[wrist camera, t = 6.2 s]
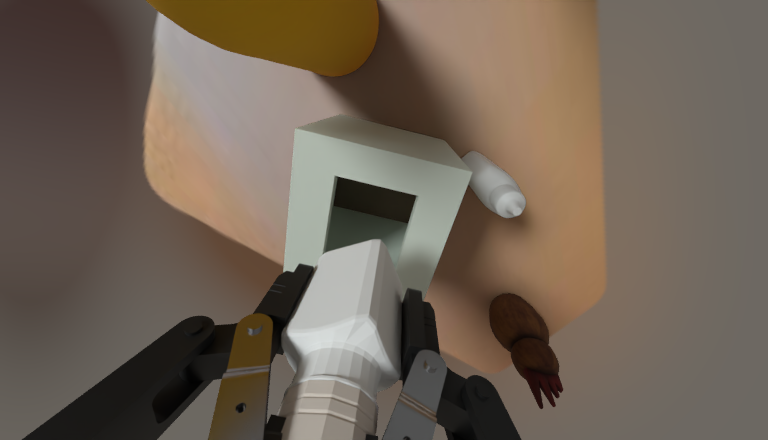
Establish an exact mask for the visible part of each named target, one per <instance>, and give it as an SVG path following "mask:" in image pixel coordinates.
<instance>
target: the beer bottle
mask: <svg viewBox="0 0 768 440" xmlns="http://www.w3.org/2000/svg"><path fill="white" fill-rule="evenodd" d="M146 1H147V2H148V3H149V4H151V5H152V6H153V7H154V8H155V9H156V10H157V11H159V12H160V13H161V14H163V15H164V16H166V17H167V18H169V19H170V20H172V21H173V22H174V23H176V24H177V25H179V26H180V27H182V28H183V29H185V30H186V31H188V32H189V33H191V34H193V35H195V36H197V37H198V38H200V39H203V40H205V41H207V42H209V43H211V44H213V45H215V46H217V47H219V48H222V49H224V50H227V51H230V52H234V53H238V54H242V55H246V56H250V57H256V58H260V59H264V60H268V61H272V62H276V63H280V64H284V65H288V66H292V67H296V68H300V69H304V70H308V71H312V72H315V73H317V74H321V75H324V76H335V77H337V76H343V75H346V74H349V73H351V72H353V71H355V70H356V69H358V68H359V67H360V66H361V65H362V64H363V63H364V62H365V61H366V60H367V59H368V57H369V56H370V54H371V53H372V50H373V48H374V46H375V43H376V39H377V36H378V28H379V13H378V7H377V2H376V0H146Z"/></svg>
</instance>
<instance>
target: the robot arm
mask: <svg viewBox="0 0 768 440" xmlns="http://www.w3.org/2000/svg"><path fill="white" fill-rule="evenodd" d="M313 270H314V267H313V266H310V265H305V264H301V263H299V264H298V266H297V267H296V269H295V271H294V272H291V271H285V272H284V273H283V274H281V275H279V276H278V277H277V279H276V281H275V282H274V283H273V285H272V286H271V288H270V289H269V291H268V292H267V294H266V295H265V297H264V298H263V300H262V301H261V303H260V304H259V306H258V307H257V309H256V310H255V312H254V313H253V314H251V315H248V316H246V317H244V318H243V319H242V320H241V321H240V322H239V323H236V324H228V325H214V322H213V320H212V319H211V318H209V317H206V316H194V317H190V318H187V319H185V320H183V321H181V322H180V323H179V324H177V325H176V326H174V327H173V328H172V329H170V330H169V331H168V332H166V333H165V334H164V335H162V336H161V337H160V338H158V339H157V340H156V341H154V342H153V343H152V344H151V345H149V346H147V347H146V348H145V349H143V350H142V351H141V352H139V353H138V354H137V355H136V356H134V357H133V358H131V359H130V360H129V361H127V362H126V363H125V364H123V365H122V366H120V367H119V368H118V369H116V370H115V371H114V372H112V373H111V374H110V375H108V376H107V377H106V378H104V379H103V380H102V381H100V382H99V383H98V384H96V385H95V386H94V387H92V388H91V389H89V390H88V391H87V392H85V393H84V394H83V395H81V396H80V397H79V398H78V399H76V400H75V401H73V402H72V403H71V404H69V405H68V406H67V407H65V408H64V409H63V410H61V411H60V412H59V413H57V414H56V415H55V416H53V417H52V418H50V419H49V420H48V421H46V422H45V423H44V424H42V425H41V426H40V427H38V428H37V429H36V430H34V431H33V432H31V433H30V434H29V435H27V436H26V437H25V438H24V439H22V440H157V439H158V438H159V437H160V436H161V434H163V432H164V431H165V430H166V429H167V428H168V427H169V426H170V425H171V424H172V423H173V422H174V421H175V420H176V419H177V418H178V417H179V416H180V415H181V413H182V412H183V411H184V410H185V409H186V408H187V407H188V406H189V405H190V404H191V403H192V402H193V401H194V400H195V399H196V398H197V396H198V395H199V394H200V393H201V392H202V391H203V390H204V389H205V388H206V387H207V386H208V385H209V384H210V383H211V382H212V381H213V380H215V379H222V381H221V385H220V389H219V393H218V398H217V402H216V407H215V411H214V415H213V420H212V424H211V428H210V433H209V438H208V440H282V435H283V433H281V431H282V429H283V426H284V423H285V420H286V417H281V416H276V415H271V417H270V419H269V421H268V423H267V411H268V398H269V397H268V396H269V385H270V371H271V363H272V361H273V359H274V357H275V355H276V353H277V354H281V355H283V353H284V351H283V349H282V347H281V335H282V331H283V329H284V327H285V326H286V324H287V322H288V320H289V318H290V316H291V314H292V312H293V310H294V308H295V306H296V304H297V302H298V300H299V298H300V296H301V294H302V292H303V290H304V288H305V286H306V284H307V282H308V280H309V278H310V276H311V274H312V272H313ZM399 380H402V381H403V388H402V391H401V393H400V396H399V398H398V401H397V403H396V406H395V408H394V411H393V413H392V415H391V418H390V421H389V423H388V425H387V428H386V430H385V433H384V435H383V438H382V440H432V439H433V435H434V431H435V427H436V423H438V424H440V425H441V426H443V427H444V428H445V431H446V435H447V438H448V440H521V438H520V436H519V434H518V432H517V430H516V428H515V426H514V424H513V422H512V420H511V418H510V416H509V414H508V412H507V410H506V409H505V406H504V404H503V402H502V400H501V398H500V396H499V394H498V392H497V390H496V389H495V387H494V386H493V385H492V384H491V383H490V382H489V381H488V380H487V379H485V378H483V377H481V376H478V375H473V376H470V377H468V379H465V378H463V377H461V376H459V375H458V374H456V373H454V372H452V371H451V370H450V369H449V368H448V367H447V366H446V363H445V361H444V360H443V358H442V357H441V356H440V352H439V344H438V336H437V328H436V321H435V313H434V310H433V308H432V306H431V304H430V303H429V302H424V301H423V300H422V291H420V290H416V289H411V288H407V290H406V293H405V296H404V299H403V302H402V335H401V375H400V378H399ZM365 440H378V436H374V435H369V434H366V438H365Z"/></svg>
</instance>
